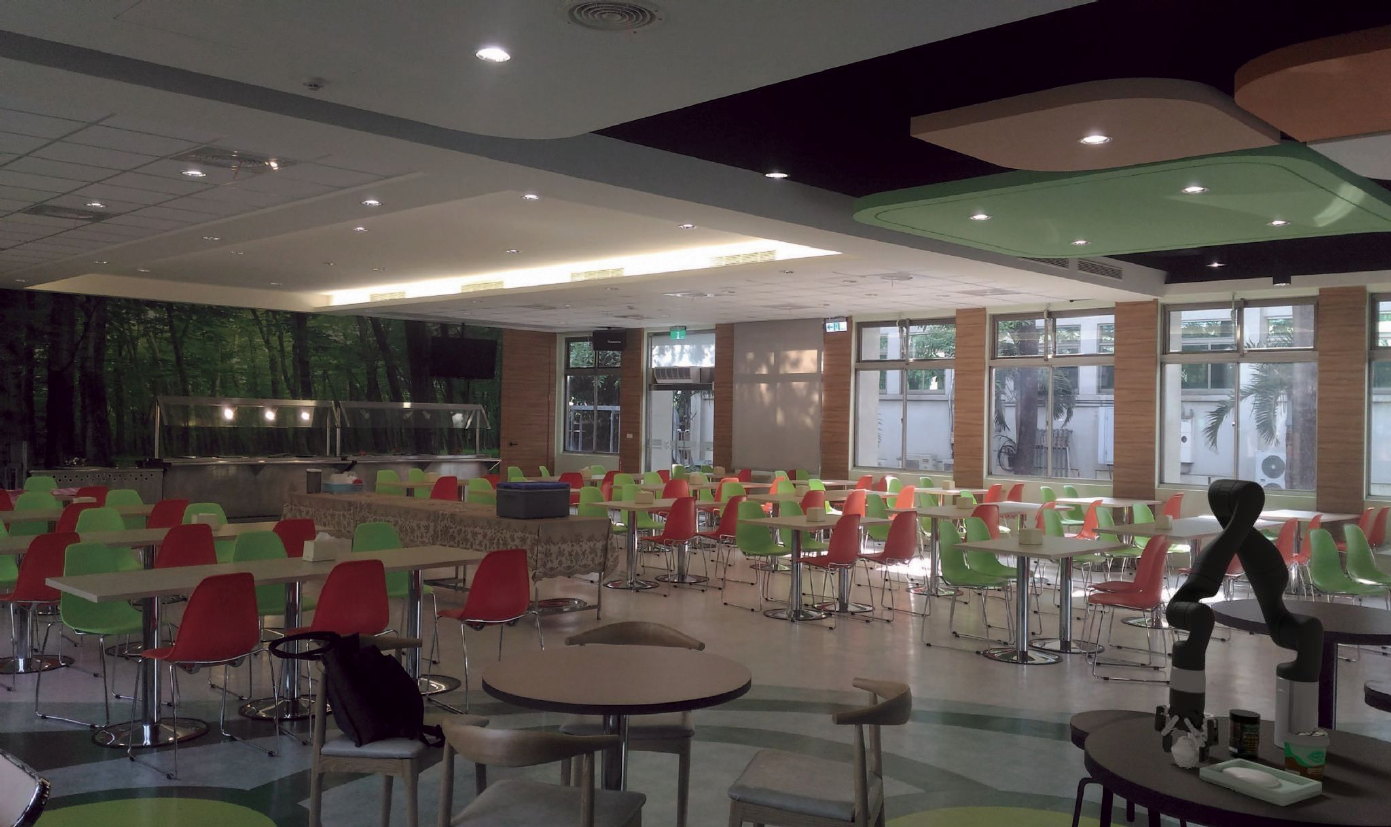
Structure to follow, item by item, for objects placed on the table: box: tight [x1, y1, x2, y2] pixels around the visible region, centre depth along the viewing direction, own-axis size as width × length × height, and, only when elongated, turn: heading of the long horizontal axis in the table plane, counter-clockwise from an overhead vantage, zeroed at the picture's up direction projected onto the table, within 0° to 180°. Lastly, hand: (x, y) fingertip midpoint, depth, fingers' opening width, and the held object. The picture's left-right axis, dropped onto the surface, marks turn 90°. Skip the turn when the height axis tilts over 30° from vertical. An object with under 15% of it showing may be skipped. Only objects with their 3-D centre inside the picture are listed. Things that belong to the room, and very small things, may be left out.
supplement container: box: [1227, 708, 1262, 761], centre depth 244 cm, size 7×7×10 cm
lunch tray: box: [1199, 758, 1323, 807], centre depth 222 cm, size 16×18×2 cm
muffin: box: [1171, 735, 1199, 769], centre depth 234 cm, size 6×6×7 cm
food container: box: [1282, 727, 1331, 781], centre depth 230 cm, size 12×6×10 cm, turn 117°
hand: (1185, 757), depth 234 cm, fingers open, 8 cm apart
